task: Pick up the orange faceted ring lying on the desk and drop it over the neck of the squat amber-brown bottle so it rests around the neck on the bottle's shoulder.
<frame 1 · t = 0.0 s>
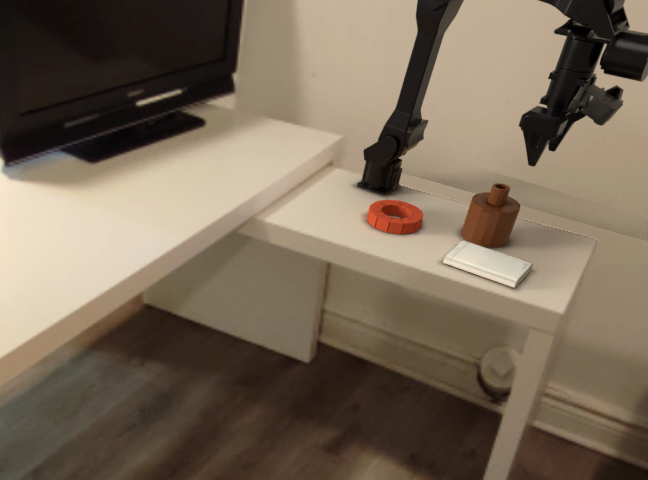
hand: (541, 158, 139), 15 cm above the table, tool pointing down, fingers open, 9 cm apart
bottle: (484, 236, 147), on the table
orange faceted ring: (393, 221, 151), on the table
hard drive: (486, 268, 139), on the table
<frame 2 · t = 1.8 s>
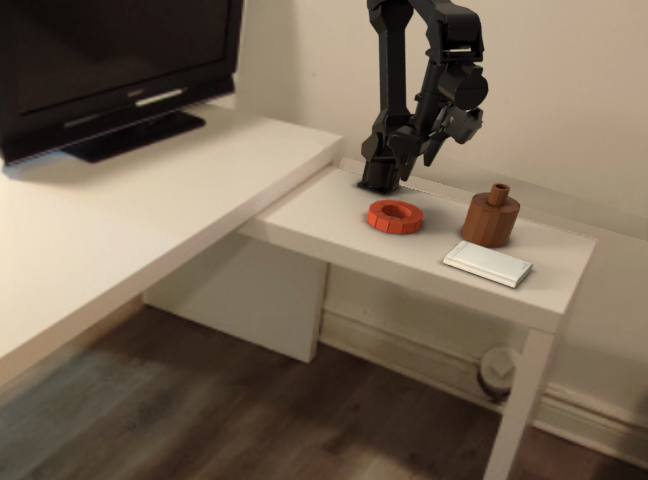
hand: (415, 173, 148), 9 cm above the table, tool pointing down, fingers open, 9 cm apart
nothing on the table moved.
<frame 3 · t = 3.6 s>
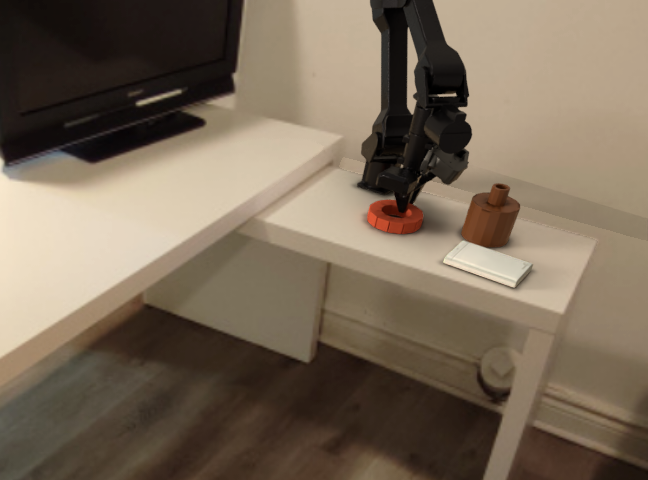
hand: (404, 210, 153), 1 cm above the table, tool pointing down, fingers closed on orange faceted ring, 2 cm apart
orange faceted ring: (393, 221, 152), on the table, touching gripper
everything else where it was.
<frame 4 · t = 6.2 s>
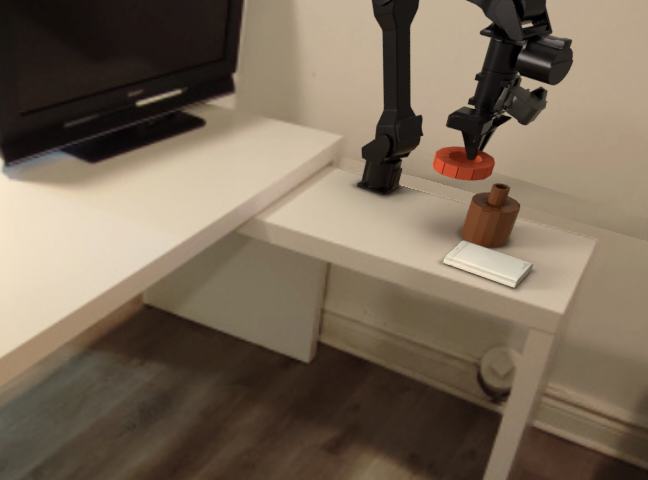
hand: (473, 157, 143), 13 cm above the table, tool pointing down, fingers closed on orange faceted ring, 2 cm apart
orange faceted ring: (461, 169, 141), point 12 cm above the table, touching gripper
everything else where it was.
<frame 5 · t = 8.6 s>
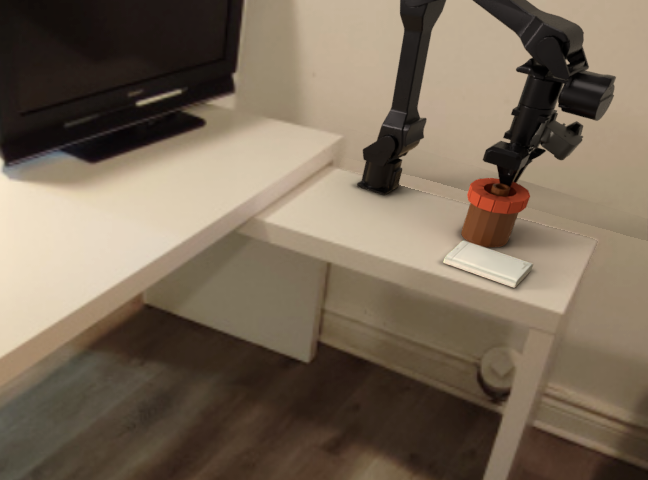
hand: (507, 189, 144), 8 cm above the table, tool pointing down, fingers closed on orange faceted ring, 2 cm apart
orange faceted ring: (496, 201, 143), point 7 cm above the table, touching gripper
everything else where it was.
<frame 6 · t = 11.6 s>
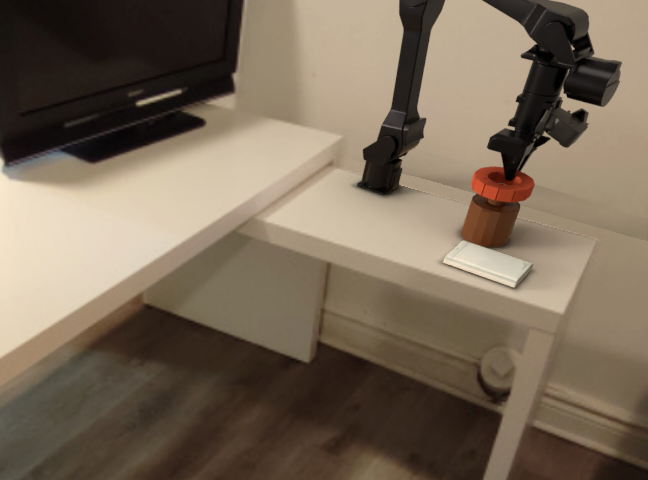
hand: (511, 177, 143), 10 cm above the table, tool pointing down, fingers closed on orange faceted ring, 2 cm apart
orange faceted ring: (500, 189, 141), point 9 cm above the table, touching gripper
everything else where it was.
when the fingers open (11 cm above the table, at t = 14.1 s): orange faceted ring drops 3 cm, resting on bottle.
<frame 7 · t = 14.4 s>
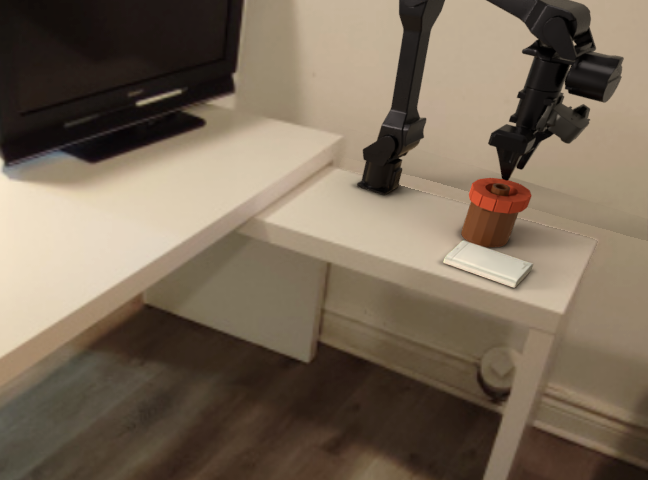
hand: (512, 174, 142), 11 cm above the table, tool pointing down, fingers open, 6 cm apart
orange faceted ring: (497, 200, 143), point 7 cm above the table, touching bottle
everything else where it was.
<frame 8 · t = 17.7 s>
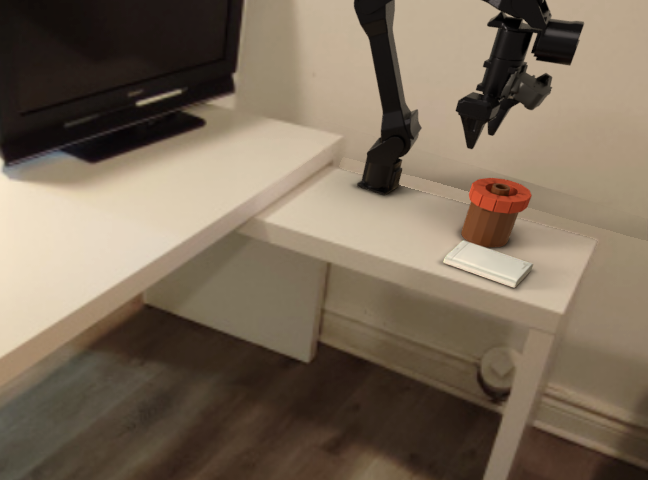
hand: (480, 141, 149), 13 cm above the table, tool pointing down, fingers open, 9 cm apart
nothing on the table moved.
at the end: orange faceted ring 0.7 cm off-centre in the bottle, point 7.0 cm above the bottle's base; orange faceted ring tilted 0°; the gripper is holding nothing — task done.
